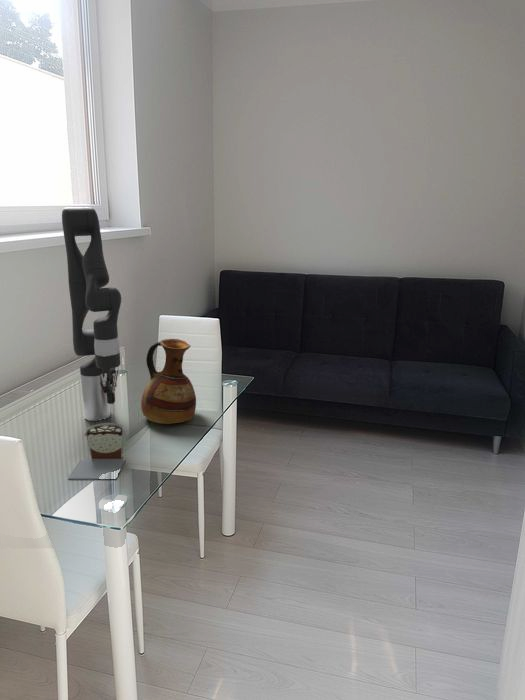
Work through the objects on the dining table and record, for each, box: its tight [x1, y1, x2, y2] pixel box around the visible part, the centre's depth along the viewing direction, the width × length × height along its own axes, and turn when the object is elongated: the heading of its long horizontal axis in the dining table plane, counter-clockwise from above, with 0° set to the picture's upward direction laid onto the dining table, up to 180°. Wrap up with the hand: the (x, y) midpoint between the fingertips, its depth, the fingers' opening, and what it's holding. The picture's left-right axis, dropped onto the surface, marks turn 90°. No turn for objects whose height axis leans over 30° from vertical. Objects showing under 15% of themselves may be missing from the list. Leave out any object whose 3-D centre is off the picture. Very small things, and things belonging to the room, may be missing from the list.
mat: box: [68, 459, 126, 481], centre depth 158 cm, size 11×14×1 cm
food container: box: [84, 422, 126, 460], centre depth 166 cm, size 12×6×10 cm, turn 92°
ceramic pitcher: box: [140, 338, 197, 425], centre depth 190 cm, size 20×20×30 cm
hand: (111, 402), depth 170 cm, fingers closed
